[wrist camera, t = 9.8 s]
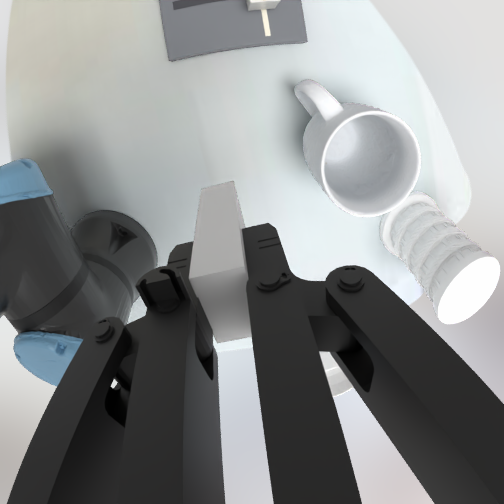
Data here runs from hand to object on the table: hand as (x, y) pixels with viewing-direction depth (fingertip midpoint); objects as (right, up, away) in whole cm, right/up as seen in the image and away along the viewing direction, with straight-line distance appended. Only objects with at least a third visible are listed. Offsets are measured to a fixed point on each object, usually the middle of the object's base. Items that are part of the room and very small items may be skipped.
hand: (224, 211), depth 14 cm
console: (-1, +28, +12) cm, 30 cm away
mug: (+11, +14, +22) cm, 29 cm away
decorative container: (+27, +3, +31) cm, 41 cm away
